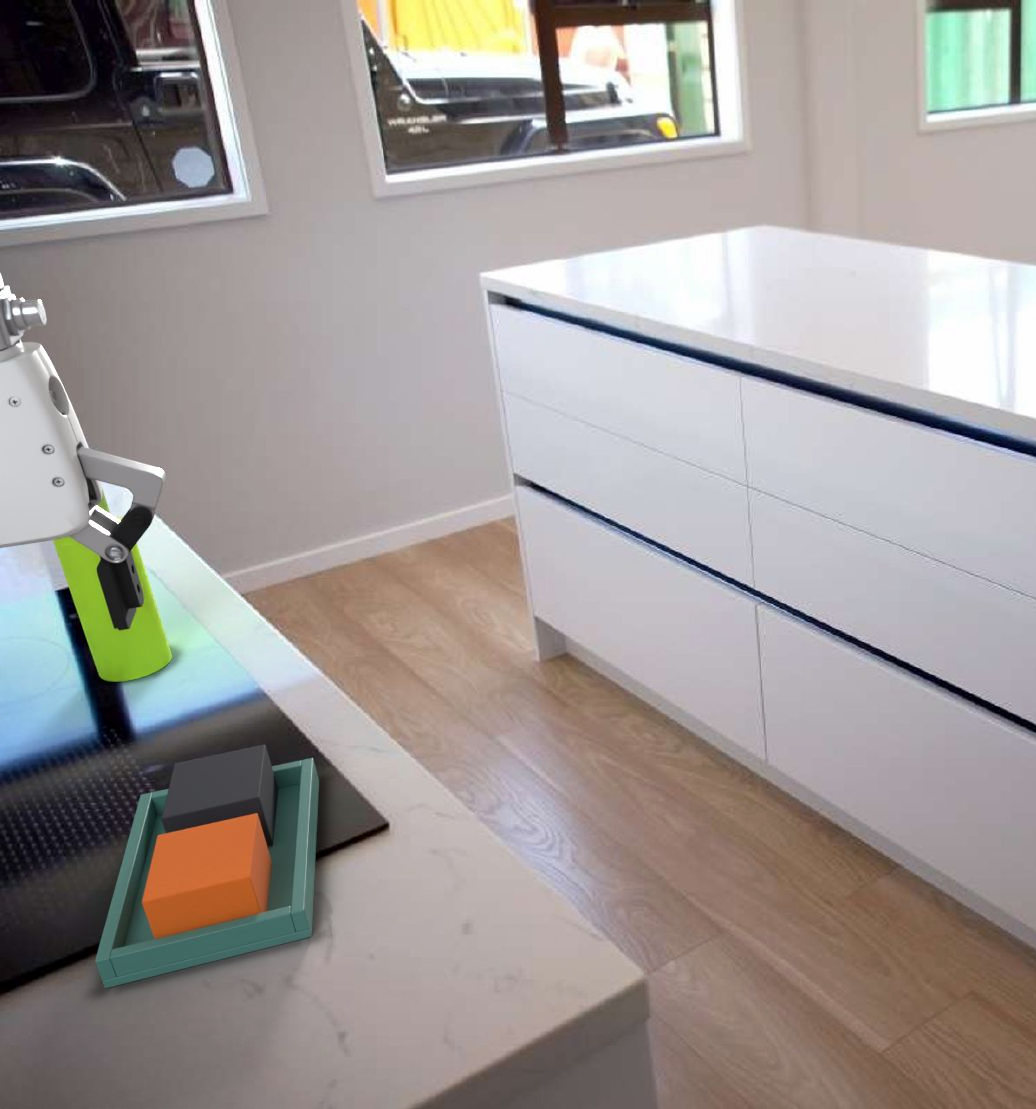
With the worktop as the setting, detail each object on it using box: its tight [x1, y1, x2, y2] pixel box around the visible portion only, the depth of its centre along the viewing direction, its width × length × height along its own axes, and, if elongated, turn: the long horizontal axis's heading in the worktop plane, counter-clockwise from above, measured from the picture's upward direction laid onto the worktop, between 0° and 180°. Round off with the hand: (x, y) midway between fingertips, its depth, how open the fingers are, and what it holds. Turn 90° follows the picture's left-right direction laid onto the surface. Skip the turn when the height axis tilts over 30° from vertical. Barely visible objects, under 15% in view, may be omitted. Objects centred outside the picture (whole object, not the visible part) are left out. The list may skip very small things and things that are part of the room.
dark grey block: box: [161, 744, 278, 847], centre depth 87 cm, size 6×7×4 cm
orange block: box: [142, 813, 272, 939], centre depth 79 cm, size 6×7×4 cm
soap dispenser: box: [52, 488, 173, 683], centre depth 107 cm, size 6×7×20 cm
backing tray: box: [94, 757, 320, 989], centre depth 84 cm, size 12×18×2 cm, turn 19°
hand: (31, 635), depth 70 cm, fingers open, 9 cm apart
